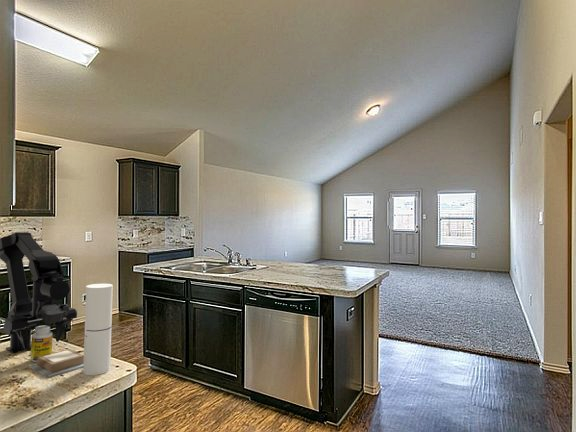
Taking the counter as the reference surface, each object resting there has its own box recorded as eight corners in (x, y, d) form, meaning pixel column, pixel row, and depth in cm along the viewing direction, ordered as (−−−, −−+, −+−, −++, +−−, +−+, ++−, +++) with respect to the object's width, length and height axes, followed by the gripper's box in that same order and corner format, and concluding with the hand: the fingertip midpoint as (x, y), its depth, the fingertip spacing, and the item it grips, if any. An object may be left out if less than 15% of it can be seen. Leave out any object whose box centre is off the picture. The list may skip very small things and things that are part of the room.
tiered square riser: (29, 367, 113) (29, 357, 113) (70, 356, 123) (71, 346, 123) (48, 378, 106) (49, 366, 106) (91, 364, 116) (91, 354, 116)
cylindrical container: (97, 376, 108) (100, 288, 109) (77, 372, 110) (80, 286, 111) (115, 367, 115) (118, 284, 115) (96, 364, 117) (99, 282, 117)
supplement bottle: (30, 364, 116) (31, 330, 116) (30, 358, 120) (31, 325, 120) (52, 360, 119) (53, 328, 119) (51, 355, 123) (52, 323, 123)
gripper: (21, 304, 107) (19, 359, 107) (86, 294, 123) (85, 342, 123) (4, 298, 114) (2, 351, 114) (69, 289, 129) (67, 336, 129)
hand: (41, 345), depth 120 cm, fingers open, 9 cm apart
